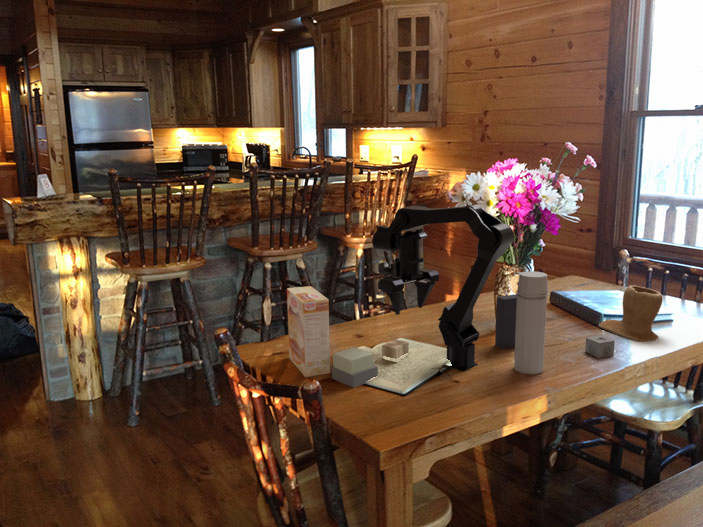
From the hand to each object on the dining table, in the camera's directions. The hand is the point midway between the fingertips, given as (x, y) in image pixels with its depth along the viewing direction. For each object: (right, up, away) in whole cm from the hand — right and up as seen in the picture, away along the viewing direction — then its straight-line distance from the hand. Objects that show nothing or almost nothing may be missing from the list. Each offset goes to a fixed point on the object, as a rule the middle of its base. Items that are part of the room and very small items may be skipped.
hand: (408, 311), depth 172 cm
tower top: (-15, -13, -16) cm, 25 cm away
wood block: (-2, -10, 0) cm, 10 cm away
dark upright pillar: (+30, -11, +6) cm, 32 cm away
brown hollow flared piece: (+66, -9, +14) cm, 68 cm away
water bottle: (+30, -14, -11) cm, 35 cm away
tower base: (-15, -16, -15) cm, 26 cm away
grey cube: (+50, -12, -2) cm, 52 cm away
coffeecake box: (-27, -14, -6) cm, 31 cm away
